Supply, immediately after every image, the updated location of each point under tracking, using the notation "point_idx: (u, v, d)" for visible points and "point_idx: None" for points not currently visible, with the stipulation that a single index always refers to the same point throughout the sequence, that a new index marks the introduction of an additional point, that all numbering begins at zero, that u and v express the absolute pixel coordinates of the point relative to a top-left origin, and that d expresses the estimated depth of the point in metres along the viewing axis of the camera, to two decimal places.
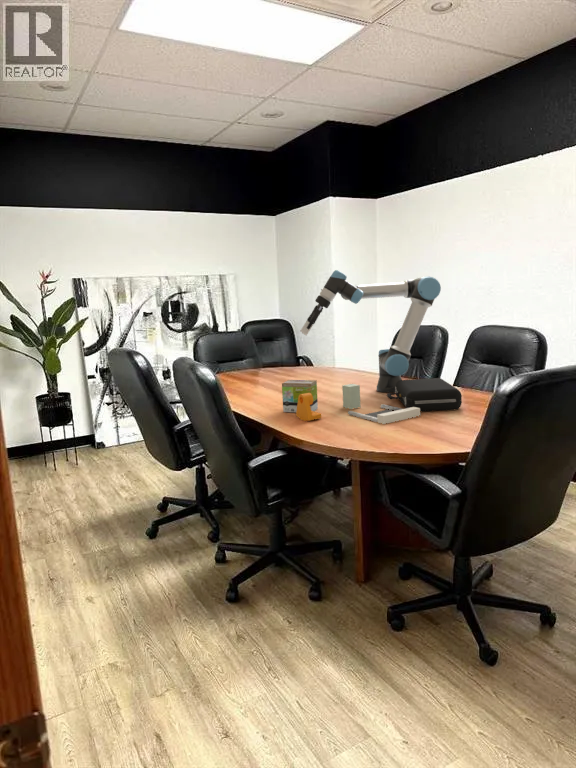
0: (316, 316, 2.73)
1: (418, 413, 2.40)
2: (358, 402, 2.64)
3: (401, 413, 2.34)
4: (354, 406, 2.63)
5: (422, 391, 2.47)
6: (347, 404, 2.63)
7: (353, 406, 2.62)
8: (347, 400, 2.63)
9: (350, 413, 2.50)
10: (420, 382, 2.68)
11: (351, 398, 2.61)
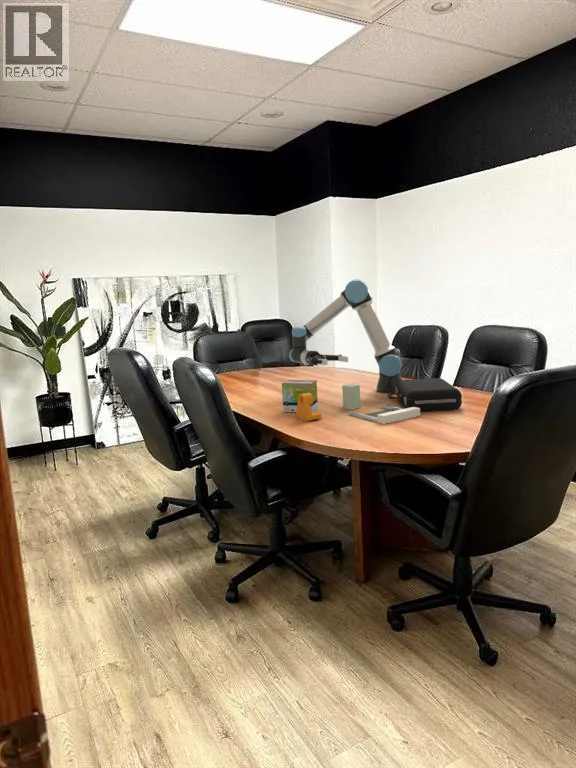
0: (310, 360, 2.74)
1: (418, 413, 2.40)
2: (358, 402, 2.64)
3: (401, 413, 2.34)
4: (354, 406, 2.63)
5: (422, 391, 2.47)
6: (347, 404, 2.63)
7: (353, 406, 2.62)
8: (347, 400, 2.63)
9: (350, 413, 2.50)
10: (420, 382, 2.68)
11: (351, 398, 2.61)
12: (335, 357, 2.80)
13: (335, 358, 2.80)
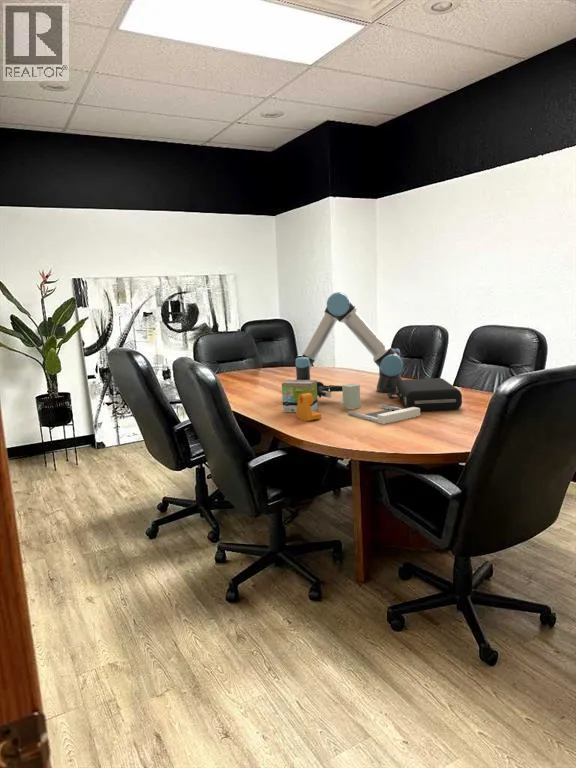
0: None
1: (418, 413, 2.40)
2: (358, 402, 2.64)
3: (401, 413, 2.34)
4: (354, 406, 2.63)
5: (422, 391, 2.47)
6: (347, 404, 2.63)
7: (353, 406, 2.62)
8: (347, 400, 2.63)
9: (350, 413, 2.50)
10: (421, 382, 2.68)
11: (351, 398, 2.61)
12: (339, 388, 2.80)
13: (339, 389, 2.80)
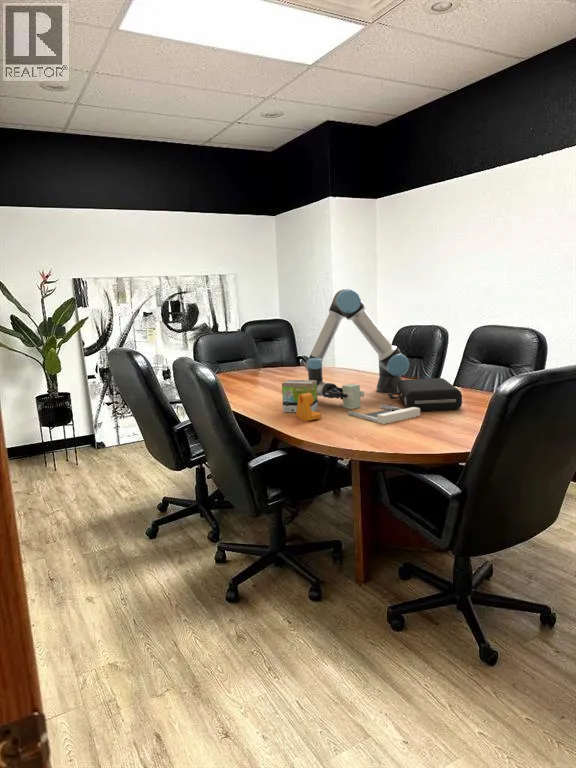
0: (332, 394, 2.66)
1: (418, 413, 2.40)
2: (358, 402, 2.64)
3: (401, 413, 2.34)
4: (354, 406, 2.63)
5: (422, 391, 2.47)
6: (347, 404, 2.63)
7: (353, 406, 2.63)
8: (347, 400, 2.63)
9: (350, 413, 2.50)
10: (421, 382, 2.68)
11: None
12: None
13: None
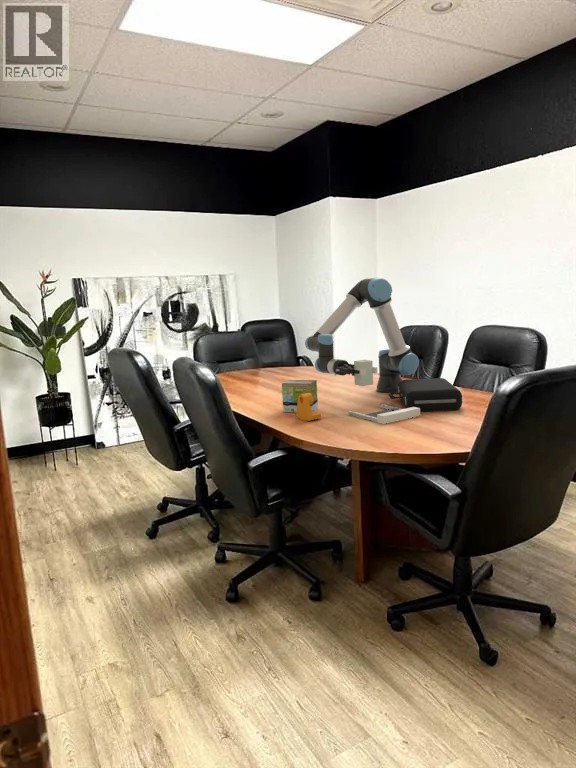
0: (344, 370, 2.50)
1: (418, 413, 2.40)
2: (370, 379, 2.48)
3: (401, 413, 2.34)
4: (366, 383, 2.47)
5: (422, 391, 2.47)
6: (359, 381, 2.47)
7: (365, 383, 2.46)
8: (359, 376, 2.47)
9: (350, 413, 2.50)
10: (422, 382, 2.68)
11: None
12: None
13: None
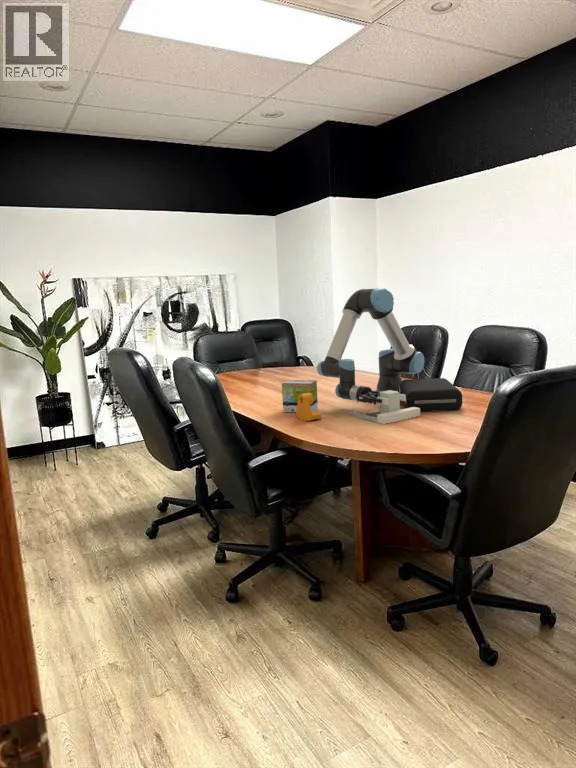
0: (366, 398, 2.42)
1: (418, 413, 2.40)
2: None
3: (401, 413, 2.34)
4: None
5: (422, 391, 2.47)
6: None
7: None
8: (385, 408, 2.39)
9: (350, 413, 2.50)
10: (423, 382, 2.68)
11: (390, 405, 2.37)
12: None
13: None
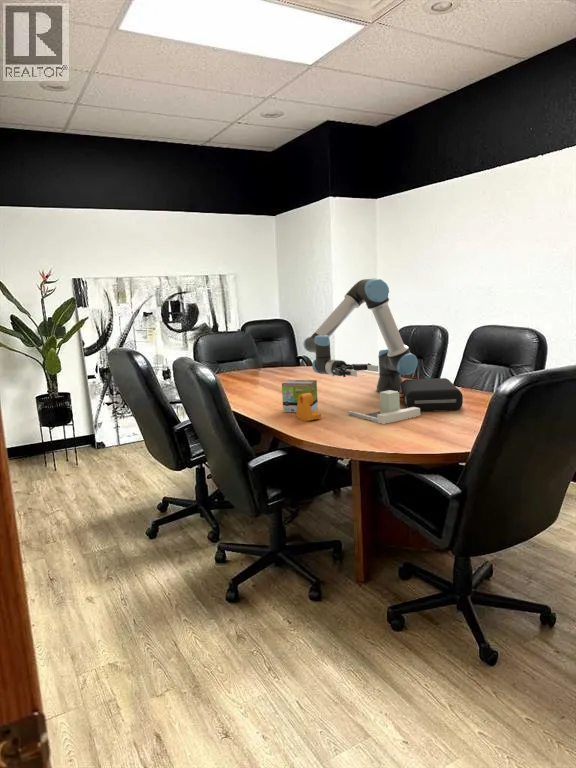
0: (337, 371, 2.52)
1: (418, 413, 2.40)
2: None
3: (401, 413, 2.34)
4: None
5: (422, 391, 2.47)
6: None
7: None
8: (385, 408, 2.39)
9: (350, 413, 2.50)
10: (424, 382, 2.67)
11: (390, 405, 2.37)
12: (363, 366, 2.58)
13: (364, 367, 2.59)
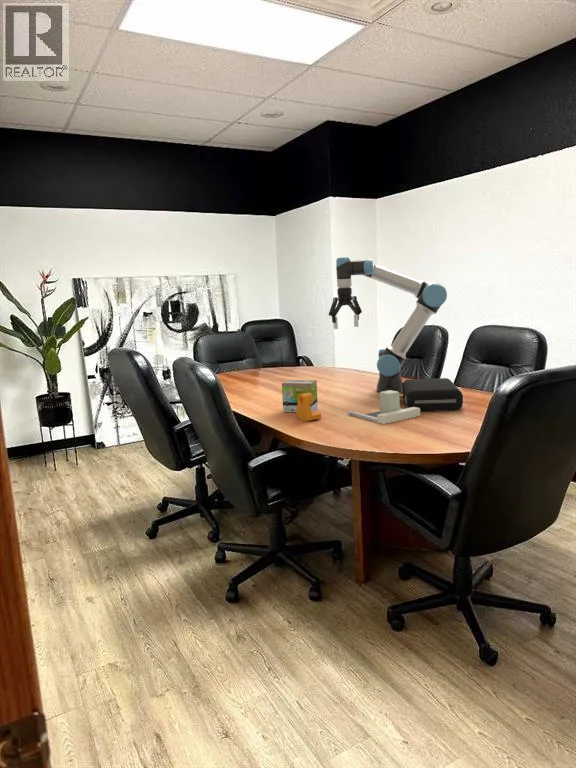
0: (332, 308, 2.83)
1: (418, 413, 2.40)
2: None
3: (401, 413, 2.34)
4: None
5: (422, 391, 2.47)
6: None
7: None
8: (385, 408, 2.39)
9: (350, 413, 2.50)
10: (425, 382, 2.67)
11: (390, 405, 2.37)
12: (354, 311, 2.91)
13: (354, 311, 2.91)
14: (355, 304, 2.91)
